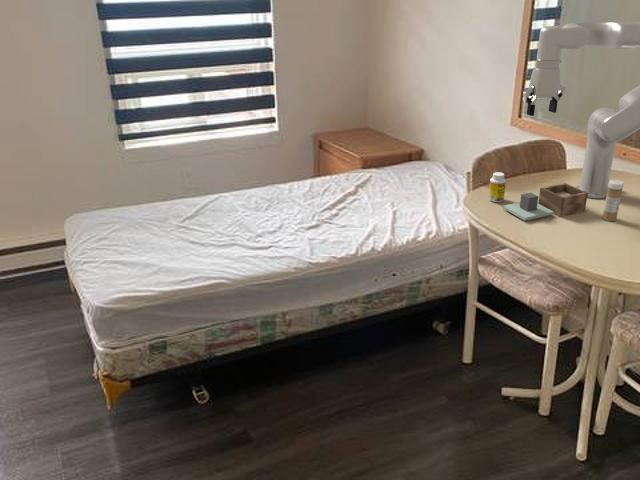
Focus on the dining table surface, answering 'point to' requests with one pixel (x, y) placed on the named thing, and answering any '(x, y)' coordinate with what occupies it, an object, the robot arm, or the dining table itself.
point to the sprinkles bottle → (612, 200)
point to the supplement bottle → (497, 187)
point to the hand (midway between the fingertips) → (541, 113)
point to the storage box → (563, 199)
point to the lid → (528, 207)
